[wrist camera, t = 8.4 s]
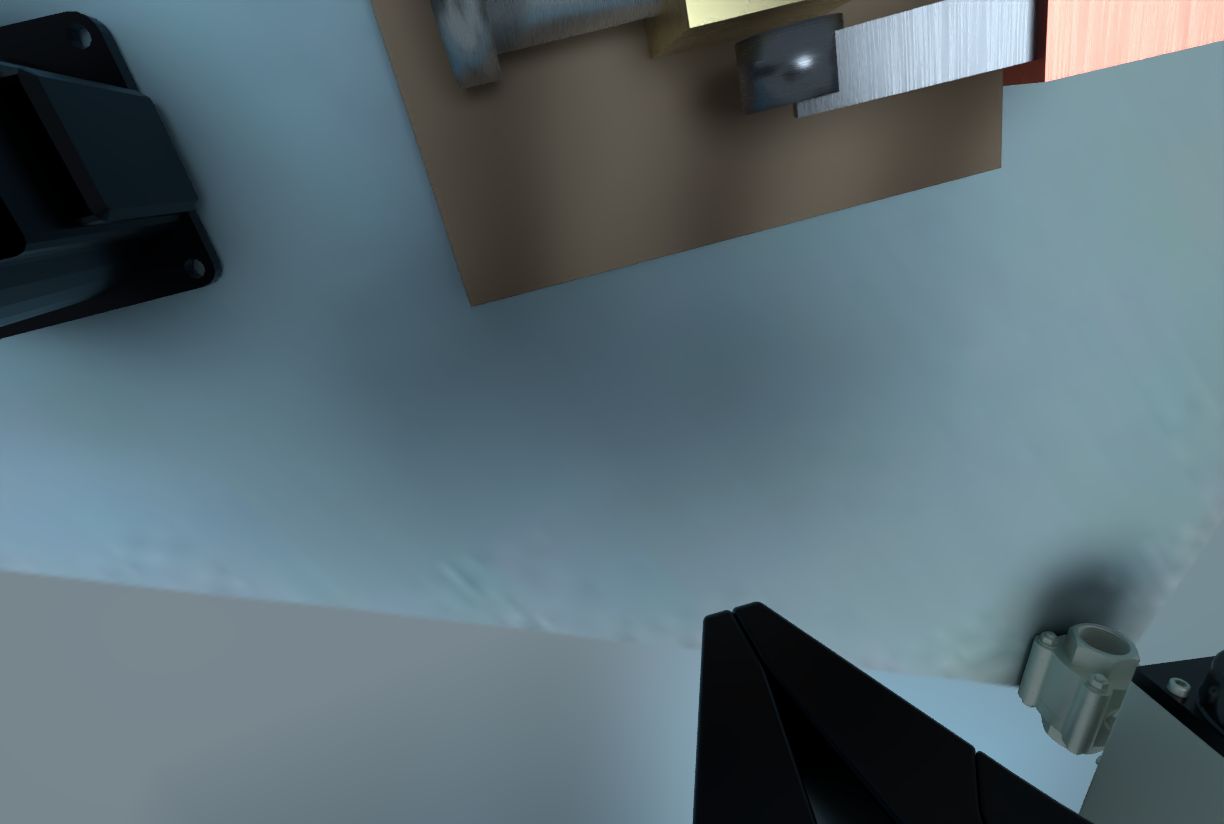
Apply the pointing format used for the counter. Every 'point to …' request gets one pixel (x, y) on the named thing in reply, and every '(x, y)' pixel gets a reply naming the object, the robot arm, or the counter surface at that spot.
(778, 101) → the lever
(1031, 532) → the counter surface
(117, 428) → the counter surface
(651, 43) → the valve body
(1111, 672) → the pneumatic valve
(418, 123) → the mounting board
